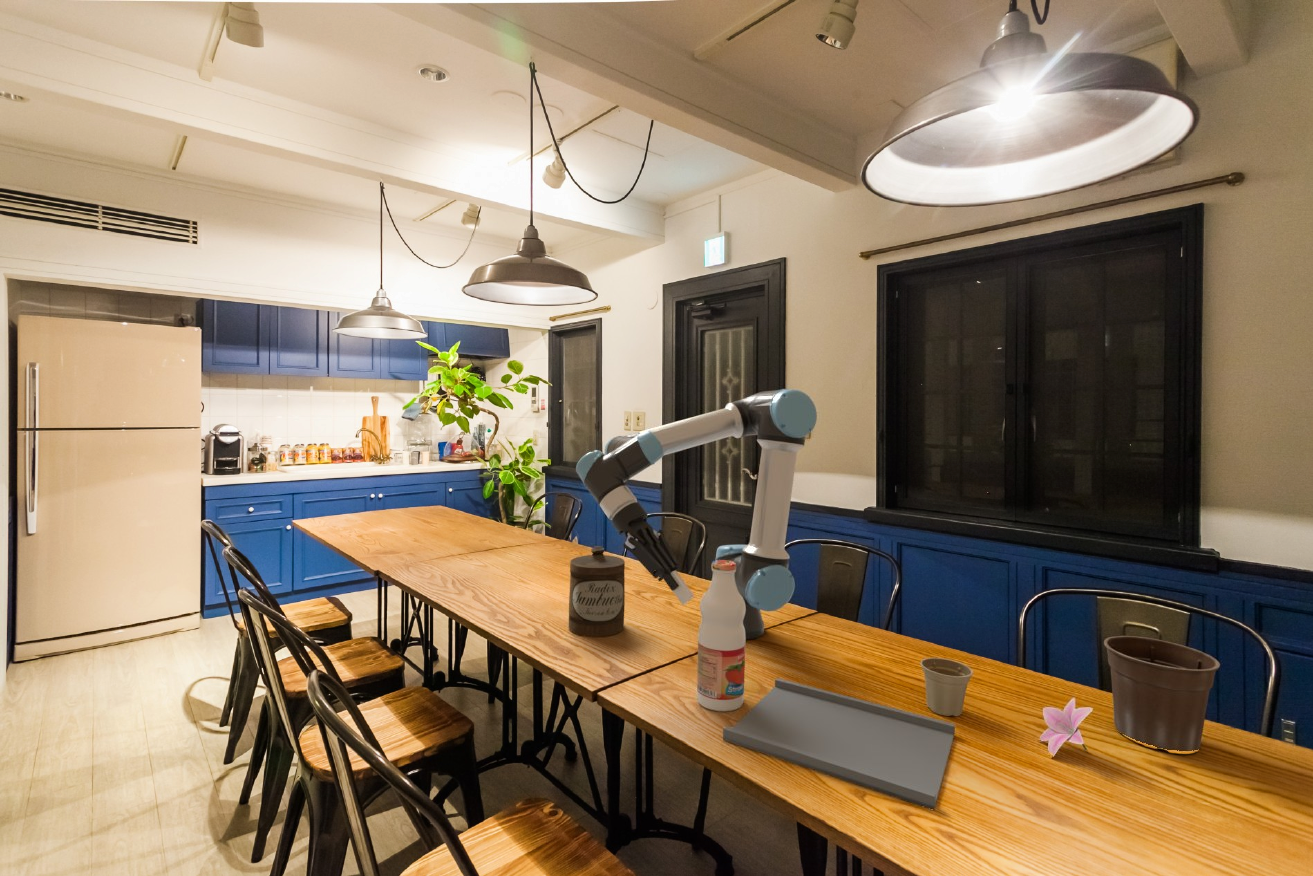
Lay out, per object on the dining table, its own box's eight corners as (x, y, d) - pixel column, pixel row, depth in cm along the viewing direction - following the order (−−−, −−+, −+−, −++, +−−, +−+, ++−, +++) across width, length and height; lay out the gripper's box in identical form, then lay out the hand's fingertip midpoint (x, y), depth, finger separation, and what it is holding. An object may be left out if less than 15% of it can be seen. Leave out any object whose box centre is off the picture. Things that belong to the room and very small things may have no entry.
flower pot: (967, 703, 123) (968, 661, 123) (975, 725, 114) (977, 679, 114) (917, 695, 126) (918, 654, 126) (920, 716, 117) (922, 672, 117)
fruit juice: (702, 688, 127) (706, 555, 126) (747, 695, 124) (751, 559, 123) (691, 708, 118) (695, 565, 117) (739, 716, 115) (743, 570, 114)
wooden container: (571, 639, 153) (573, 552, 153) (566, 620, 168) (567, 541, 167) (628, 635, 157) (630, 551, 156) (618, 617, 171) (620, 540, 171)
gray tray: (723, 740, 106) (723, 728, 106) (776, 687, 128) (777, 678, 128) (934, 810, 88) (934, 797, 88) (954, 735, 110) (955, 724, 110)
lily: (1045, 733, 113) (1024, 693, 113) (1113, 730, 107) (1091, 687, 106) (1045, 778, 104) (1022, 735, 104) (1118, 778, 98) (1094, 731, 98)
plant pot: (1182, 771, 100) (1187, 674, 100) (1081, 725, 115) (1084, 641, 114) (1235, 752, 107) (1239, 661, 106) (1132, 711, 121) (1136, 631, 121)
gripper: (631, 518, 140) (692, 603, 131) (596, 526, 129) (660, 619, 120) (651, 497, 137) (714, 583, 128) (617, 503, 126) (684, 597, 117)
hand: (688, 600), depth 124 cm, fingers closed
